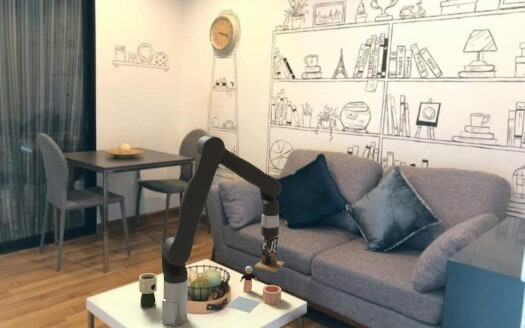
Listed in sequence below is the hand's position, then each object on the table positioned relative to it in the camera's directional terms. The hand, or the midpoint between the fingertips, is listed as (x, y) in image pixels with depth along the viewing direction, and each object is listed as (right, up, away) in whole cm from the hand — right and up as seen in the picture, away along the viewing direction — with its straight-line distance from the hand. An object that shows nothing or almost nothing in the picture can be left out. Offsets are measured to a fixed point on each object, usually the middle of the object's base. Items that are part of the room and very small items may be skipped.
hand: (269, 262), depth 187 cm
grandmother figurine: (-9, -16, +11) cm, 22 cm away
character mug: (-51, -17, -4) cm, 54 cm away
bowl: (+1, -18, +3) cm, 18 cm away
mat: (-11, -18, -1) cm, 21 cm away
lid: (0, -1, 0) cm, 2 cm away
